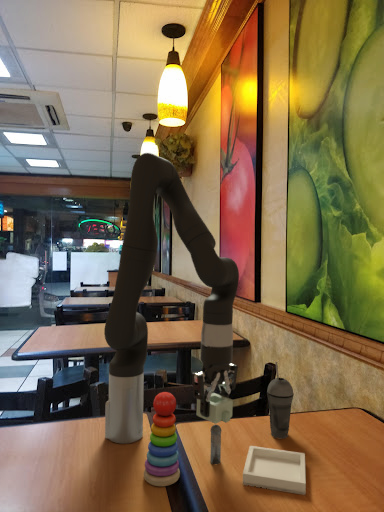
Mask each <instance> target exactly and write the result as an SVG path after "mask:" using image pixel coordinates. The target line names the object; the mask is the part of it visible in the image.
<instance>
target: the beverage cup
mask: <svg viewBox="0 0 384 512" xmlns="http://www.w3.org/2000/svg"><path fill="white" fill-rule="evenodd" d="M274 365H275V371H276V378H274V379H272V380H271V381H270V382H269V384H268V386H267V391H266V395H267V400H268V410H269V411H268V412H269V413H268V414H269V425H270V426H269V427H270V435H271V436H272V437H273V438H276V439H278V440H279V439H281V440H283V439H284V440H285V439H286V438H288V437H289V430H290V421H291V411H292V403H293V400H294V395H295V394H294V389H293V386H292V384H291V383H290V381H289V380H288V379H285V378H284V377H280V376H279V375H280V374H279V367H278V361H275V364H274Z"/></svg>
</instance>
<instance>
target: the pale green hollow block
mask: <svg viewBox="0 0 384 512" xmlns="http://www.w3.org/2000/svg"><path fill="white" fill-rule="evenodd" d="M209 401H210V414H209V417H204V416H202V415H201V414H200V400H199V399H196V416H197V417H199V418H201V419H204V420H206V421H208V422H211V423H212V424H214V425H217V424H219V423H221V422H223V423H225V424H227V423H228V422H230V421H231V418H232V417H233V408H234V406H233V403H234V399H231V398H230V397H229V398H226V397H224V396H221V395H220V393H215V392H212V394H211V397H210V400H209Z"/></svg>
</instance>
